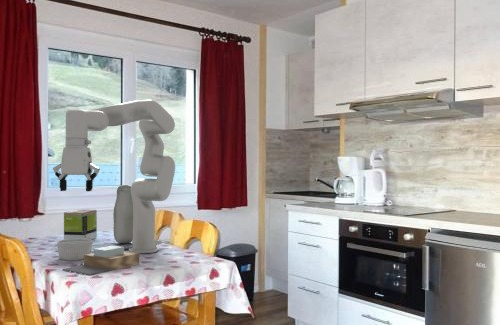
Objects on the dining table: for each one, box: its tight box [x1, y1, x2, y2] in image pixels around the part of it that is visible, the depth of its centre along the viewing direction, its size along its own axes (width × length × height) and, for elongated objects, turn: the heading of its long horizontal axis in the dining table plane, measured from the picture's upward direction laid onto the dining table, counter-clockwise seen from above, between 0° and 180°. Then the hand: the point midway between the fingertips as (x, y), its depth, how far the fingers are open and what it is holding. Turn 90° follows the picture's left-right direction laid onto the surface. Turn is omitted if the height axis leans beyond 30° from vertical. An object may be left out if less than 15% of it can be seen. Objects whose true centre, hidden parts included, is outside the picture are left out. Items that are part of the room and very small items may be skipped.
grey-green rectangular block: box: [93, 245, 125, 257], centre depth 168 cm, size 9×6×2 cm, turn 149°
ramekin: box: [56, 238, 94, 261], centre depth 181 cm, size 13×13×7 cm
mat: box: [62, 264, 112, 276], centre depth 159 cm, size 9×14×1 cm, turn 59°
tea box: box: [63, 209, 98, 240], centre depth 226 cm, size 15×10×15 cm
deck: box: [83, 250, 140, 271], centre depth 169 cm, size 14×14×4 cm
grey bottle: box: [112, 184, 133, 245], centre depth 218 cm, size 10×10×28 cm
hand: (76, 191), depth 164 cm, fingers open, 9 cm apart
